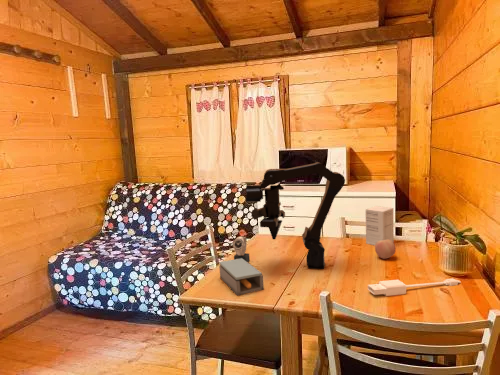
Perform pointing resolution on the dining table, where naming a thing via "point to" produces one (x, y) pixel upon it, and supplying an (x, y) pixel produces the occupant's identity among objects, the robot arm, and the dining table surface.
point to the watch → (241, 249)
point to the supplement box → (379, 224)
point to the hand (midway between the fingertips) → (274, 239)
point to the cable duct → (242, 283)
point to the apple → (385, 248)
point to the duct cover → (240, 269)
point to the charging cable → (401, 286)
